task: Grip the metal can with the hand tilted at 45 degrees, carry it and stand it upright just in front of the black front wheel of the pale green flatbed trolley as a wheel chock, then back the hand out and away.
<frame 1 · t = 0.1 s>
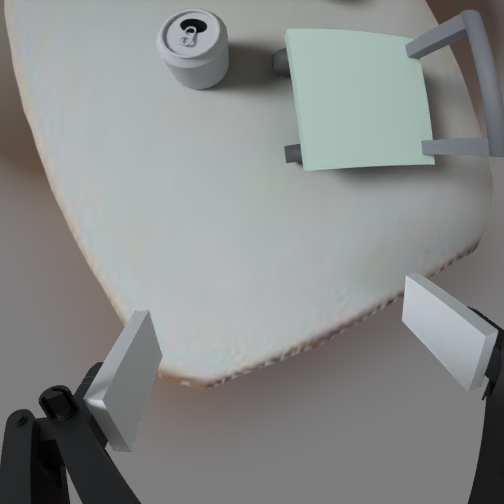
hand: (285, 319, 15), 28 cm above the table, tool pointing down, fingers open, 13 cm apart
trolley: (340, 108, 38), on the table
can: (201, 66, 36), on the table
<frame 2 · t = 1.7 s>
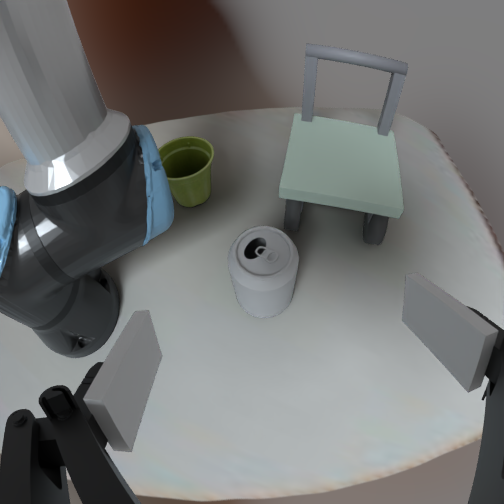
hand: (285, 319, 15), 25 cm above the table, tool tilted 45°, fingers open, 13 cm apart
trolley: (334, 198, 49), on the table
can: (264, 293, 42), on the table
plant pot: (193, 193, 51), on the table
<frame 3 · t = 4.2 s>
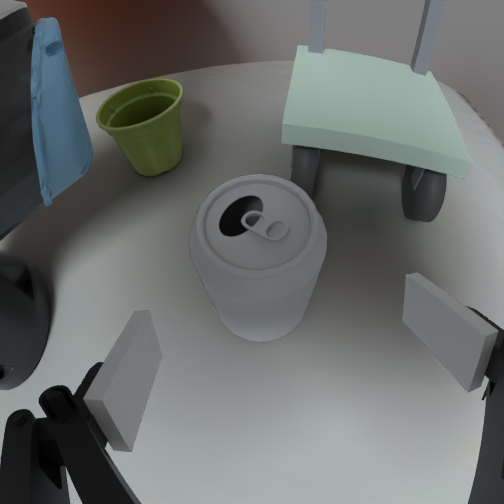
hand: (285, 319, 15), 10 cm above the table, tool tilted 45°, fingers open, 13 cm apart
trolley: (357, 160, 33), on the table
can: (261, 301, 26), on the table
plant pot: (158, 159, 35), on the table
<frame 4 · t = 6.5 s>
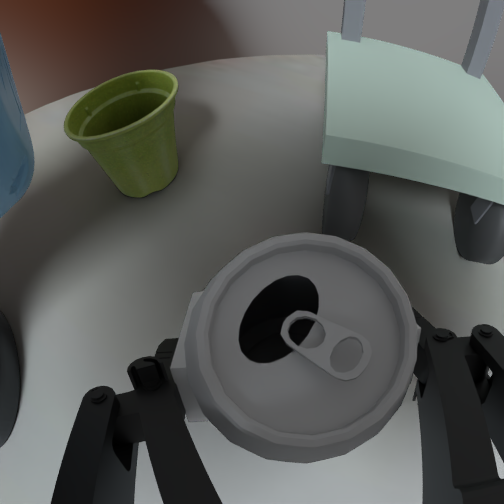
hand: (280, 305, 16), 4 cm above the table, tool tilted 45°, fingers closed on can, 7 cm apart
trolley: (399, 179, 25), on the table
can: (286, 377, 18), on the table, touching gripper
plant pot: (148, 174, 27), on the table
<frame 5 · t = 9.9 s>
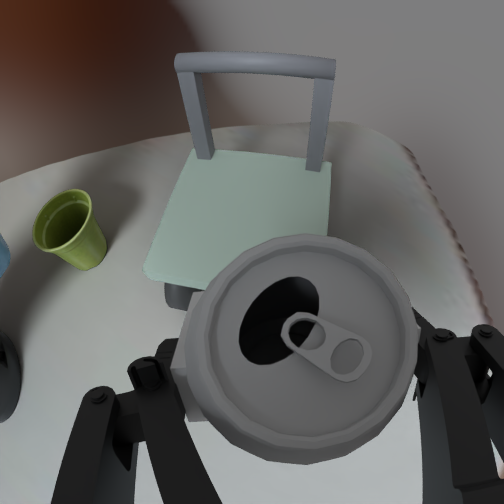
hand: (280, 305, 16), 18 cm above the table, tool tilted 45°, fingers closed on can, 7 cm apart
trolley: (250, 257, 38), on the table
can: (286, 378, 18), point 14 cm above the table, touching gripper
plant pot: (90, 252, 40), on the table
when the fingers open (6 cm above the table, at t = 13.7 s): can drops 1 cm, on the table.
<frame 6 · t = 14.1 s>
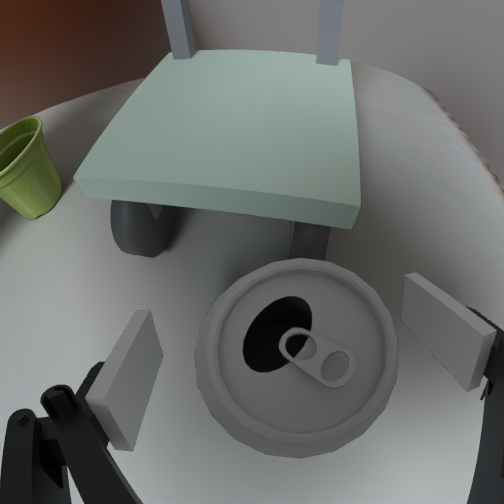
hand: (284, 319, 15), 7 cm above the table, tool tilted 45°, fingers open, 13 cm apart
trolley: (243, 190, 27), on the table
can: (284, 380, 20), on the table
plant pot: (43, 199, 29), on the table
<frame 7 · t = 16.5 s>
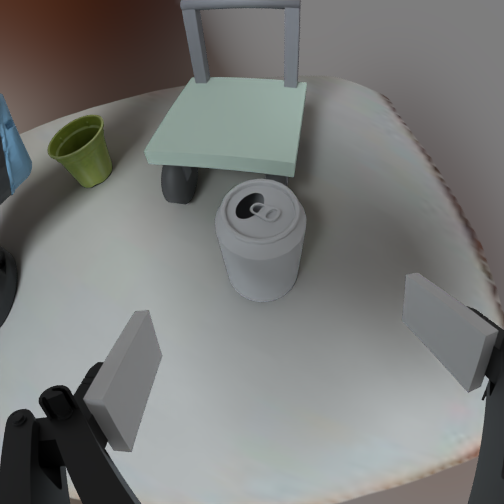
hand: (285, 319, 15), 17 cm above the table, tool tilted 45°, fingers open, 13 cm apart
trolley: (239, 167, 42), on the table
can: (263, 273, 34), on the table
plant pot: (96, 174, 44), on the table
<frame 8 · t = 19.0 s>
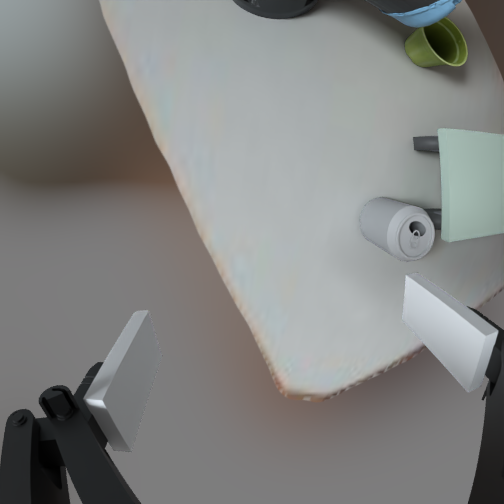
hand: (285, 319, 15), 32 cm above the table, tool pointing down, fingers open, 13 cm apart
trolley: (448, 178, 45), on the table
can: (377, 219, 46), on the table
plant pot: (418, 52, 39), on the table
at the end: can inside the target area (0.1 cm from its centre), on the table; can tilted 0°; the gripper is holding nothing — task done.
